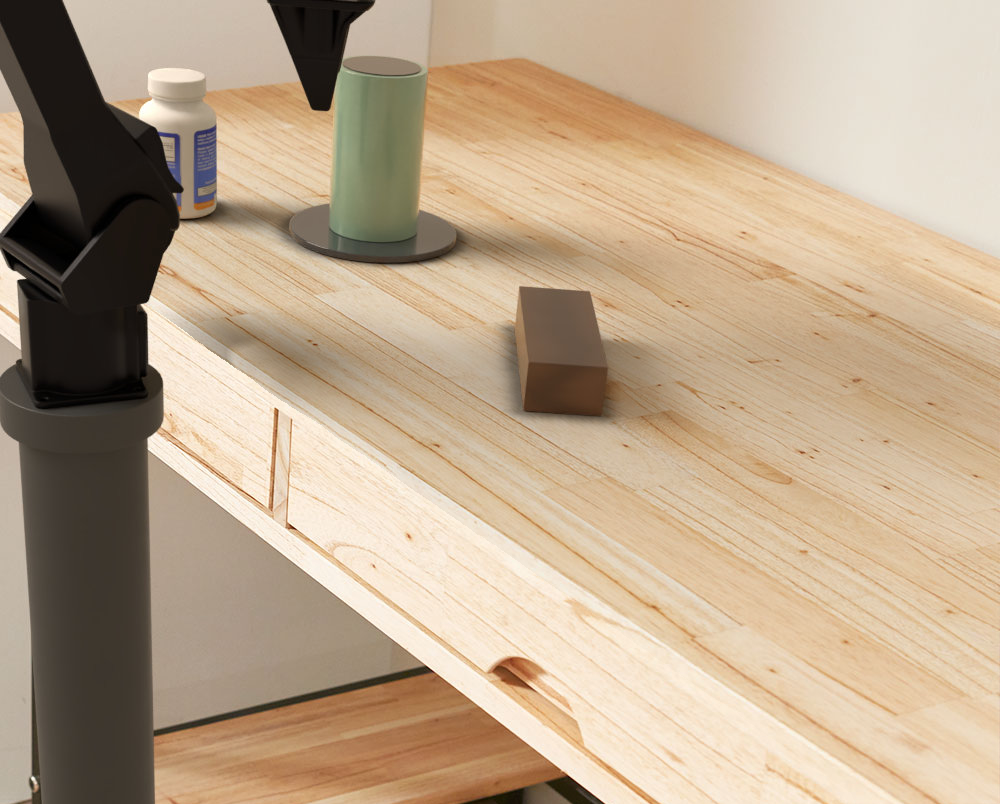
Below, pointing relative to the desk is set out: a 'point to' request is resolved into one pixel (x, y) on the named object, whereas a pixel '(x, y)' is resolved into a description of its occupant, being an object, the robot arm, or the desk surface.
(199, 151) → the pill bottle
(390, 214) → the cup
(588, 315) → the prop block
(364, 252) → the coaster
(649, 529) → the desk surface
